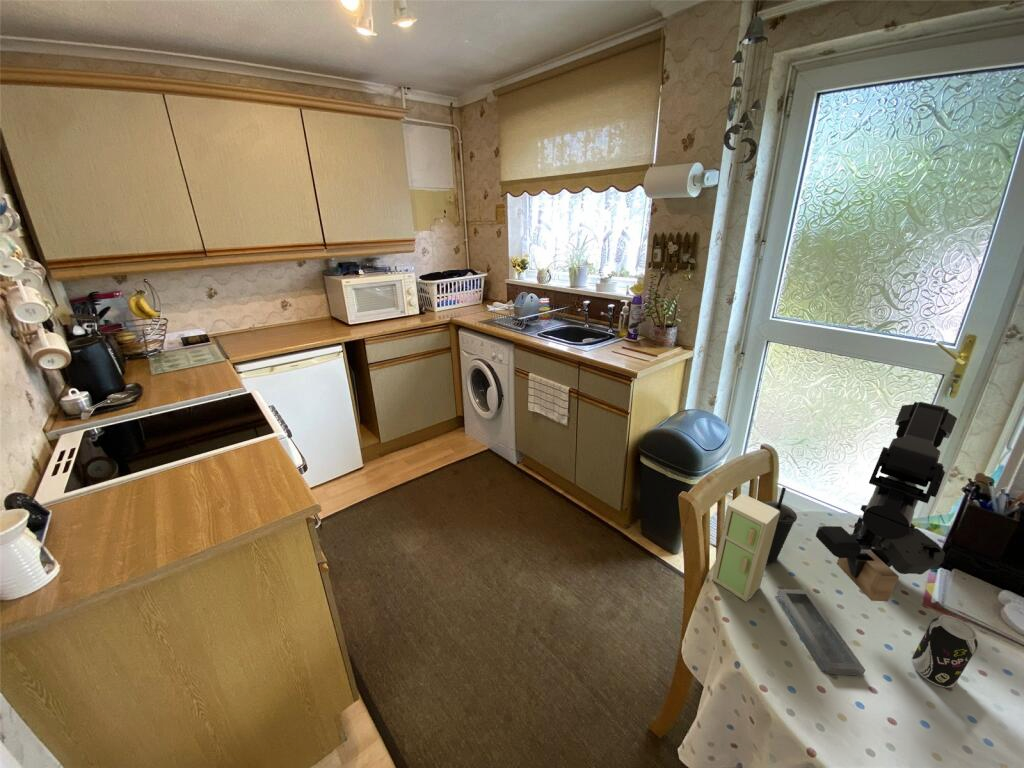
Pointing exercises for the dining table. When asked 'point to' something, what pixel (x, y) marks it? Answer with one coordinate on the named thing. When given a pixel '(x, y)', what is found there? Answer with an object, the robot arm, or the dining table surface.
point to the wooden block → (873, 578)
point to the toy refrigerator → (745, 545)
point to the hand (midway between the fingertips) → (862, 576)
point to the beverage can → (945, 650)
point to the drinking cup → (780, 526)
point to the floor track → (818, 633)
